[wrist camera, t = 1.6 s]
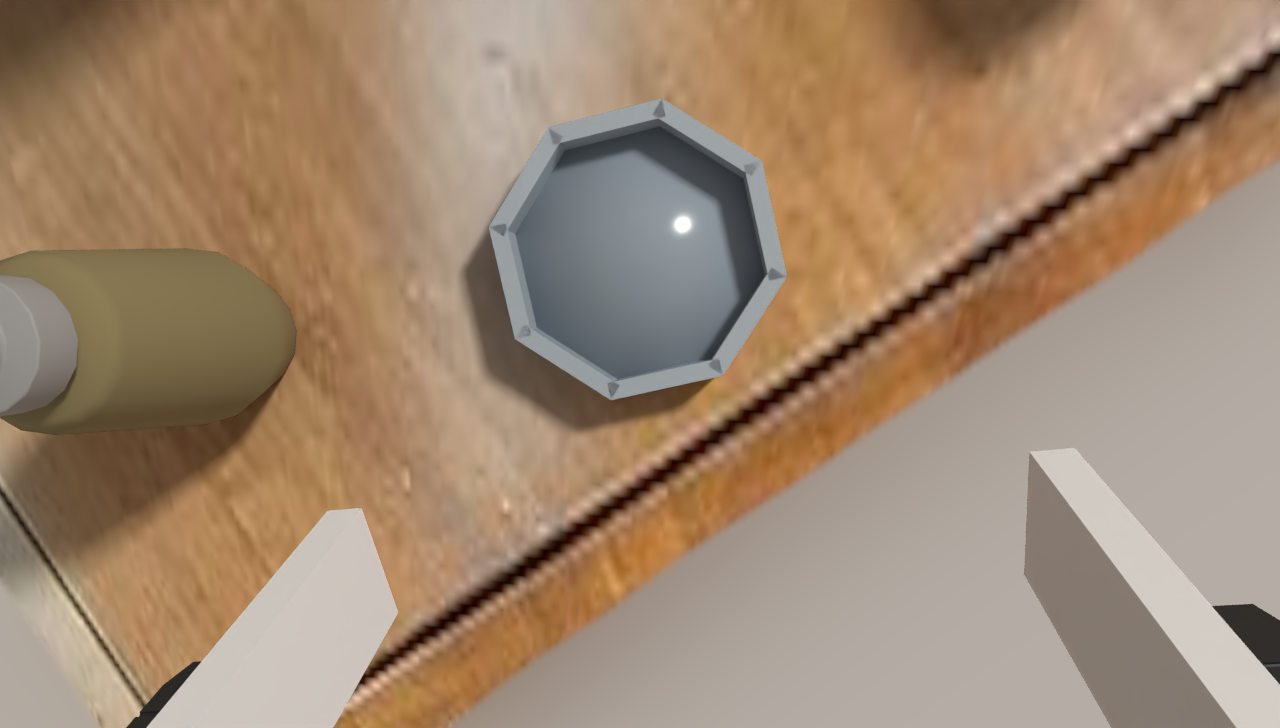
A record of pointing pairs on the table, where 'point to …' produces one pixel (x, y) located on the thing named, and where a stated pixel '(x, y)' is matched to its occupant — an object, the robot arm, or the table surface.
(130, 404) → the squeeze bottle
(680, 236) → the octagonal tray
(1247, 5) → the table surface
